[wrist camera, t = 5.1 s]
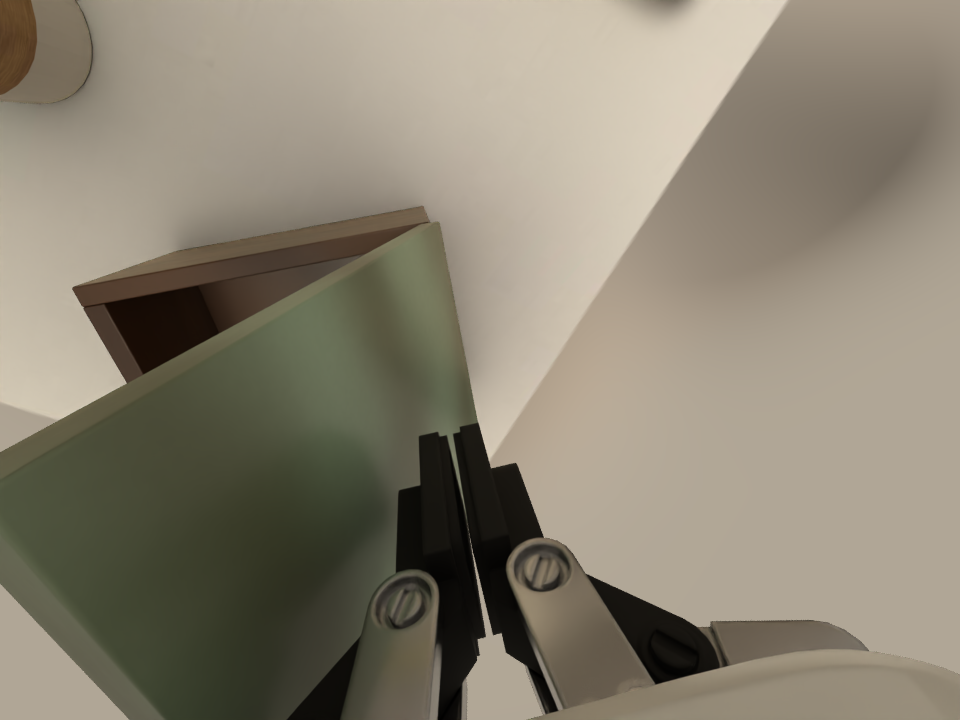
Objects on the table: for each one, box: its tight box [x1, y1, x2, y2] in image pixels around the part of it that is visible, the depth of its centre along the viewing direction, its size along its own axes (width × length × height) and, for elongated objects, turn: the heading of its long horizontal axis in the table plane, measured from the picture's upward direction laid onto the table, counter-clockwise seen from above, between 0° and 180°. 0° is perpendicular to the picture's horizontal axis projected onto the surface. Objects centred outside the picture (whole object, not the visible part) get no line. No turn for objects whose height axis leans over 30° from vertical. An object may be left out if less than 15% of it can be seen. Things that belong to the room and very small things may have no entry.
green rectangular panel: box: [0, 222, 478, 720], centre depth 13 cm, size 14×12×1 cm
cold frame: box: [72, 206, 430, 383], centre depth 22 cm, size 14×12×8 cm
